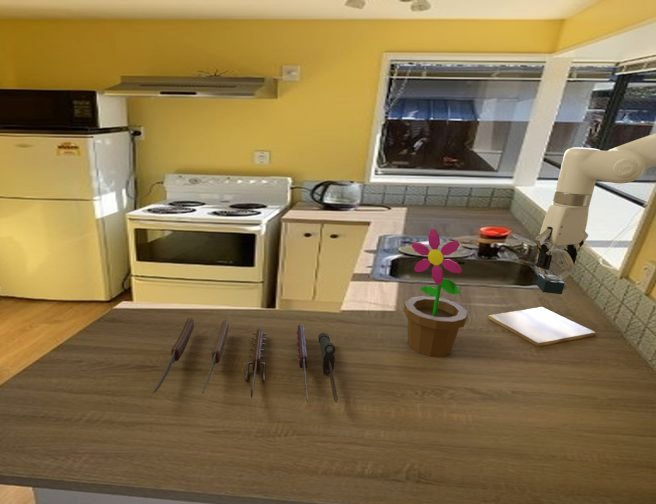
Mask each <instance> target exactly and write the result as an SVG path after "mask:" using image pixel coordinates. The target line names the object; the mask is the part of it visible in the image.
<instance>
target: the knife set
mask: <svg viewBox="0 0 656 504" xmlns="http://www.w3.org/2000/svg"><path fill="white" fill-rule="evenodd" d="M186 319H187V320H186V321H185V323H184V325H183V328H182V330H181V332H180V334H179V336H178V337H177V340H176V342H175V343H174V345H173V346H172V348H171V350H170V353H171V354H170V355H171V356H170V358H169V361H168V362H167V365H166V367H165V369H164V371H163V373H162V375H161V376H160V378H159V380H158V382H157V384H156V386H155V387H154V389H153V391H152V394H151V395H153V394H155V393H156V392H157V391H159V389H160V388H161V386H162V384H163V383H164V382H165V379H166V378H167V375H169V372H170V369H171V368H172V366H173V364H175V362H178V361H180V358H181V357H182V355H183V354H184V352H185V349H186V348H187V345H188V343H189V340H190V338H191V335H192V333H193V331H194V329H195V328H194V327H195V326H194V325H195V324H194V322H195V321H194V318H189V317H188V318H186ZM305 329H306V328H305V325H303V324H298V325H297V329H296V339H297V340H296V343H297V357H298V359H297V361H298V367H299V368H300V369H302V371H303V382H304V383H303V384H304V391H305V392H304V393H305V400H306V402H309V396H308V384H307V372H306V369H307V367H308V362H309V360H308V351H307V341H306V330H305ZM228 333H229V321H228V320H222V321H221V323H220V327H219V331H218V333H217V334H218V335H217V338H216V342H215V344H214V346H213V349H212V351H211V364H210V368H209V371H208V373H207V377H206V380H205V382H204V386H203V389H202V391H201V393H202V394H204V393H205V391H206V389H207V386H208V383H209V380H210V378H211V376H212V375H211V374H212V371H213V368H214V365H216V364H219V363H220V361H221V358H222V356H223V352H224V349H225V345H226V340H227V337H228ZM253 335H254V336H255V337H251V339H252V340H255V341H254V342H250V345H254V348H250V349H249V350H250V351H253V354H252V355H248V357H249V358H252V360H250V361H247V363H246V370H245V371H246V372H245V377H244V378H245V379H244V382H248V381H249V375H250V365H252V367H251V369H252V371H253V379H252V386H251V389H250V398H251V399H253V397H254V392H255V391H254V390H255V385H256V384H255V383H256V378H257V377H256V376H257V375H256V374H257V372H260V370H261V366H262V372H261V373H262V374H261V382H262V384H263V383H265V380H266V367H267V366H266V363H265V362H263V361H262V359H264V358H266V356H264V355H262V353H263V352H267V349H263V346H267V345H268V344H267V343H265V342H264V341H267V340H268V339H267V338H264V336H268V334H266V333H265V332H264V329H263V328H257V329H256V332H255V333H253ZM330 339H331V338H330V335H329V334H328V333H327V332H321V333H320V334H319V335H318V344H319V345H320V352H321V359H322V372H323V375H328V376H329V379H330V380H329V381H330V386H331V393H332V398H333V402H334V403H335V404H338V403H339V397H338V393H337V387H336V382H335V381H336V380H335V377H334V368H335V361H336V360H335V353H336V350H337V349H336V345H335V344H334V343H333V342H331V340H330Z"/></svg>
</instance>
